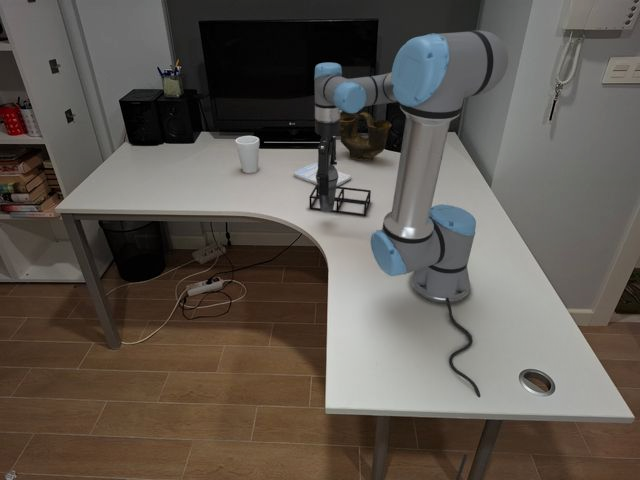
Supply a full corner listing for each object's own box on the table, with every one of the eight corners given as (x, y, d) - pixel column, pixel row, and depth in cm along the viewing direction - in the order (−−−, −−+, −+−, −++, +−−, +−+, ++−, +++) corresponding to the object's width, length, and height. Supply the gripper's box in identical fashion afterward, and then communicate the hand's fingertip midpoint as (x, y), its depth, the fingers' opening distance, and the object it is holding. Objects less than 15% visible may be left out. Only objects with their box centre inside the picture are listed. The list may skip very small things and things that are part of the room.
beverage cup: (312, 205, 148) (311, 149, 137) (331, 201, 151) (332, 145, 140) (321, 215, 143) (321, 157, 132) (341, 210, 145) (343, 153, 134)
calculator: (330, 190, 169) (330, 186, 168) (292, 176, 180) (292, 171, 178) (351, 179, 177) (352, 175, 176) (314, 165, 188) (314, 161, 187)
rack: (365, 216, 153) (366, 203, 150) (309, 209, 157) (309, 196, 154) (370, 202, 161) (370, 190, 158) (316, 196, 165) (316, 184, 162)
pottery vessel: (392, 160, 193) (397, 115, 182) (380, 168, 185) (384, 122, 174) (345, 147, 205) (346, 104, 194) (331, 155, 198) (332, 110, 187)
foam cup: (263, 172, 182) (261, 142, 175) (241, 176, 180) (238, 145, 172) (257, 163, 190) (255, 134, 183) (236, 167, 187) (233, 137, 180)
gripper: (332, 132, 121) (331, 205, 134) (347, 110, 137) (344, 177, 150) (305, 129, 123) (307, 202, 135) (323, 108, 139) (323, 174, 152)
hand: (327, 189), depth 143 cm, fingers closed on beverage cup, 7 cm apart
